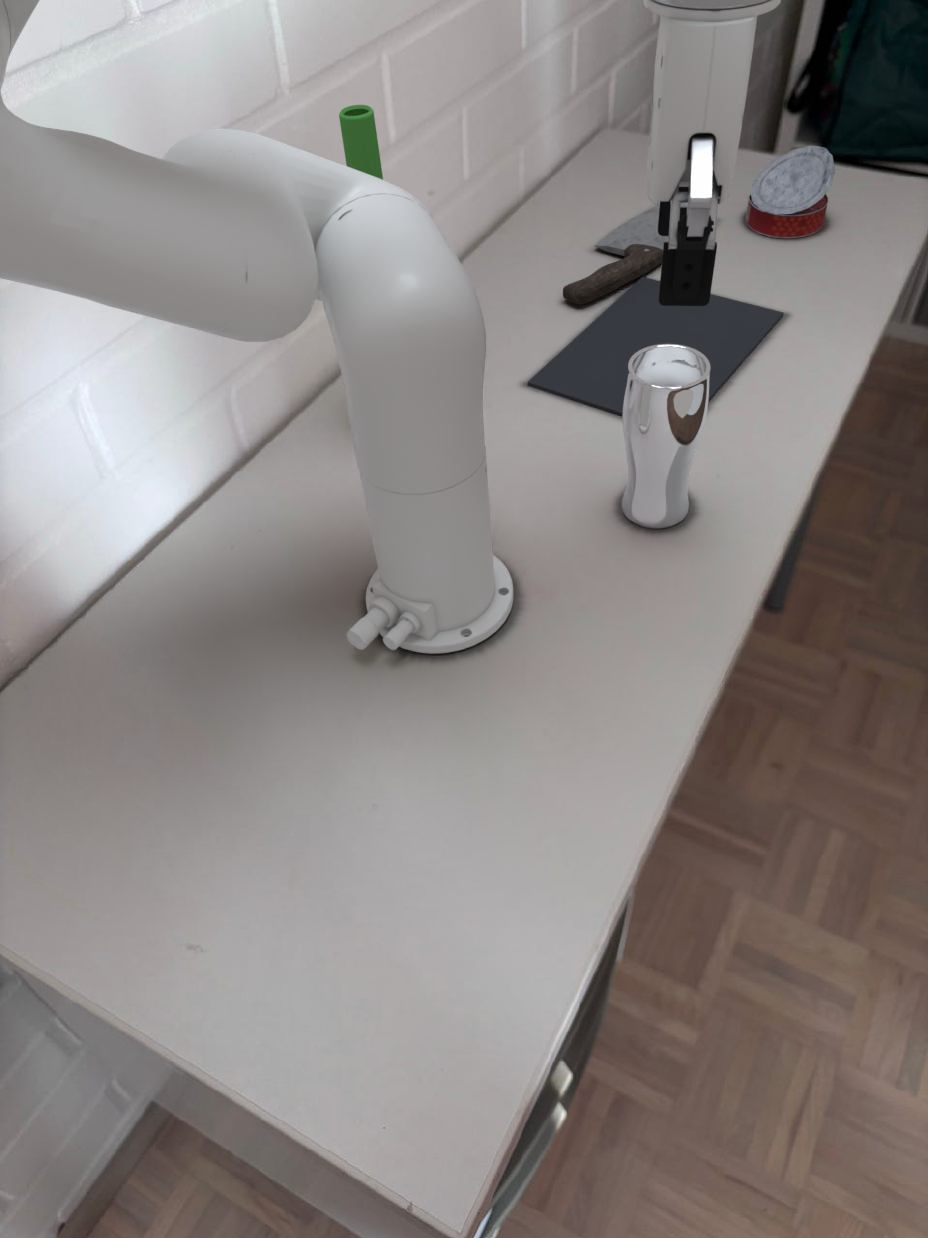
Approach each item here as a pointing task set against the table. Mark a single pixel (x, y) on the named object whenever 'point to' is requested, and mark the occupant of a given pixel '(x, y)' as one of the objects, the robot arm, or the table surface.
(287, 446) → the table surface
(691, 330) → the mat
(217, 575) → the table surface
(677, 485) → the beer glass
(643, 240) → the cleaver
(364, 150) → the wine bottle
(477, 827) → the table surface
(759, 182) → the canned food
